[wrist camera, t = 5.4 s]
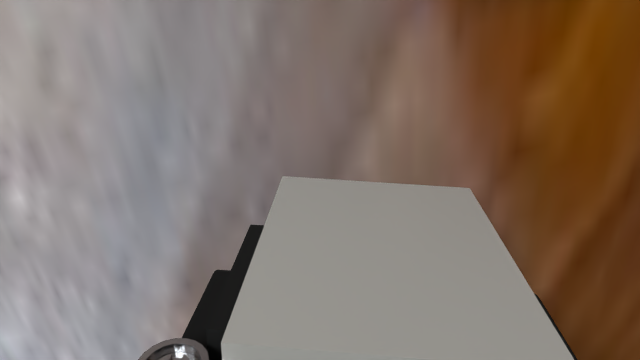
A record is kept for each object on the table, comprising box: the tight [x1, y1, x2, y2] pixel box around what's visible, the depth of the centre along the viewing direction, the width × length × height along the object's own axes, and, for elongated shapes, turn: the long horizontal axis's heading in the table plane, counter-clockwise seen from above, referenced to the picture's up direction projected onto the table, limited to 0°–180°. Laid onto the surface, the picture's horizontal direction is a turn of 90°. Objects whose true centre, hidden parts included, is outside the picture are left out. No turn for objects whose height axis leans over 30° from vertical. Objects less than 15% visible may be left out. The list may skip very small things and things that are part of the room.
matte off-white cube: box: [221, 176, 574, 360], centre depth 10 cm, size 5×5×6 cm
